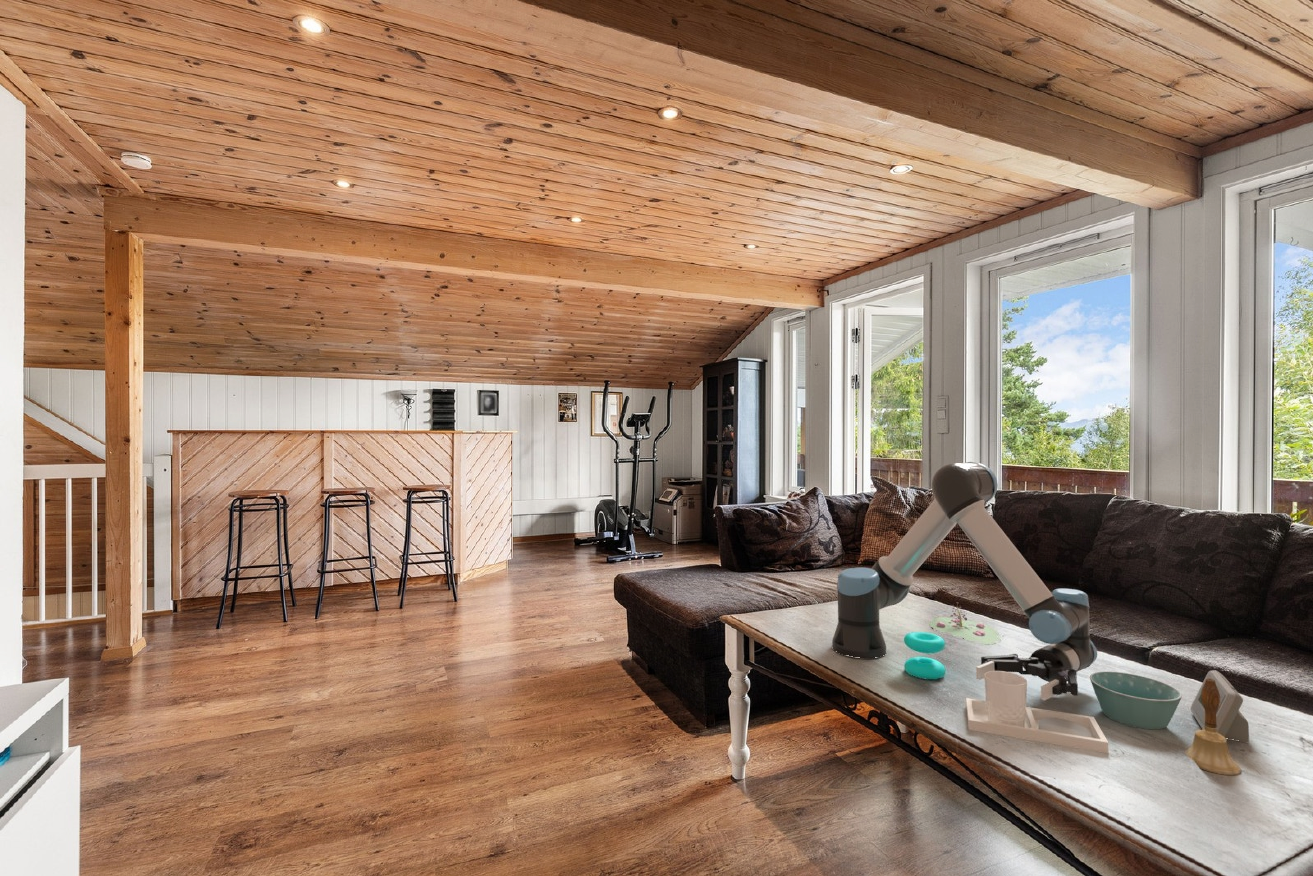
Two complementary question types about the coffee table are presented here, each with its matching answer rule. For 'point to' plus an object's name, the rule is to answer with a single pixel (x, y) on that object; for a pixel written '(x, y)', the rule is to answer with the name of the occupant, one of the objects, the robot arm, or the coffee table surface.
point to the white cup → (1006, 697)
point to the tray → (1031, 732)
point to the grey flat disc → (1063, 727)
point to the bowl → (1135, 699)
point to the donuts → (924, 665)
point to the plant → (966, 628)
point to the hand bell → (1212, 738)
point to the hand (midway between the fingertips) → (1009, 683)
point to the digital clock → (1224, 709)
